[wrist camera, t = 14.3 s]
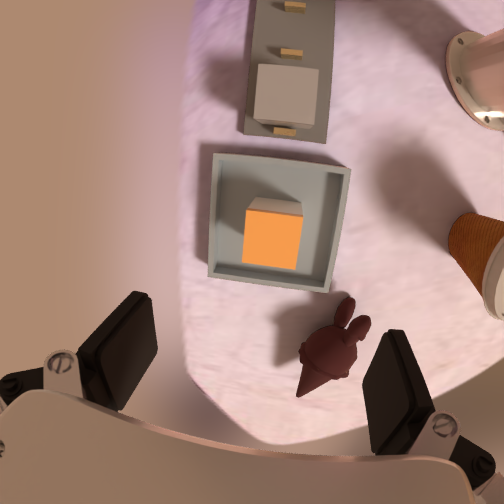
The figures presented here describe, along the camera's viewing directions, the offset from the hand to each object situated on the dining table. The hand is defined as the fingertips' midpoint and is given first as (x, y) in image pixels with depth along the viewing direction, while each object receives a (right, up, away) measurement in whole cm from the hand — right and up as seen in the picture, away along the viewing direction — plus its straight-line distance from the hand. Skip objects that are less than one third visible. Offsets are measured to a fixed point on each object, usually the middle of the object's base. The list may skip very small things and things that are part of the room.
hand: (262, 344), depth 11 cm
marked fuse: (+2, +7, +19) cm, 20 cm away
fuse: (+3, +18, +14) cm, 23 cm away
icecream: (+9, -8, +24) cm, 27 cm away
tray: (+2, +7, +19) cm, 21 cm away
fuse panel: (+4, +25, +12) cm, 28 cm away
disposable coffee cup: (+26, +5, +17) cm, 31 cm away
